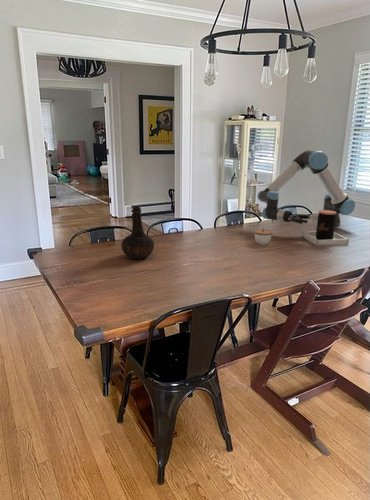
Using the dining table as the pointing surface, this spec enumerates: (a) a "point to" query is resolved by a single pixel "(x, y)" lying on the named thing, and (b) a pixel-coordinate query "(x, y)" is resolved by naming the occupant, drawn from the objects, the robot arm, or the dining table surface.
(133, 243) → the glass bottle
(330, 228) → the coffee jar
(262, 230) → the lidded jar
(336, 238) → the tray
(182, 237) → the dining table surface
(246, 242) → the dining table surface
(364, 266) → the dining table surface
